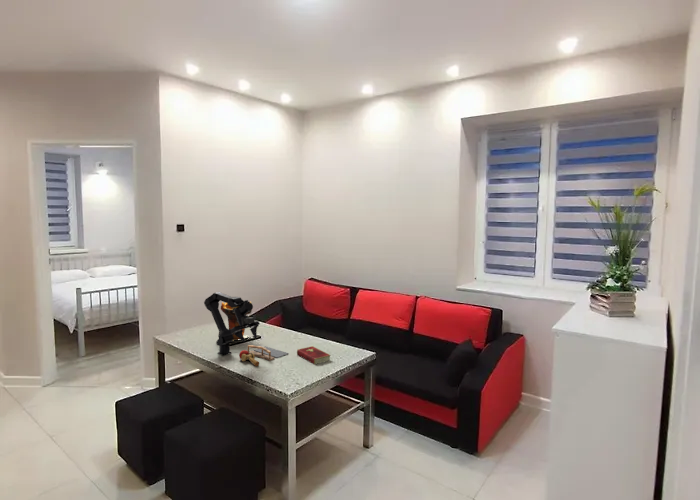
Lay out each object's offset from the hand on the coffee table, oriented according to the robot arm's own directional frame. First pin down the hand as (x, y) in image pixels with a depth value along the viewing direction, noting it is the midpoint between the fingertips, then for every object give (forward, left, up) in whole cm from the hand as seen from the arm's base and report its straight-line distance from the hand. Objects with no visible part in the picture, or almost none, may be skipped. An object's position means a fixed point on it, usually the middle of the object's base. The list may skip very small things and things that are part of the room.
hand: (250, 339), depth 248 cm
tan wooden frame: (-3, +11, -14) cm, 18 cm away
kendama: (-1, 0, -14) cm, 14 cm away
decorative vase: (-45, +26, -14) cm, 54 cm away
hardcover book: (+25, +30, -15) cm, 42 cm away
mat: (-3, +20, -14) cm, 25 cm away
